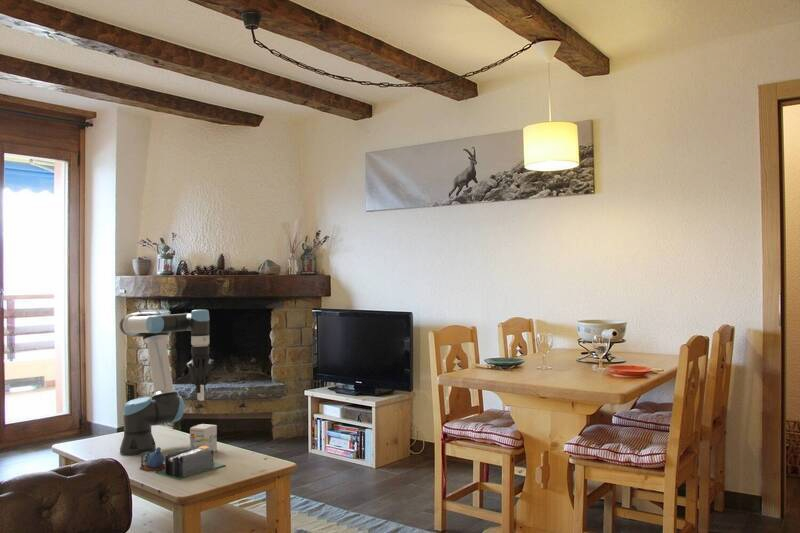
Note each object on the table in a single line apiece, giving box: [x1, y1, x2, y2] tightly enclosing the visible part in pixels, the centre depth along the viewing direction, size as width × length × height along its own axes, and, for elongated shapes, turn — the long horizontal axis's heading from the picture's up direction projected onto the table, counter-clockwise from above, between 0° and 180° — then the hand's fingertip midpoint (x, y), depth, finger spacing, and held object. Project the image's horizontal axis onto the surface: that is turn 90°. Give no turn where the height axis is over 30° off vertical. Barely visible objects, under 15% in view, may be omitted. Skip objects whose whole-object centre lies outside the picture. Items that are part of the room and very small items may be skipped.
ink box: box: [189, 423, 218, 453], centre depth 295 cm, size 9×8×12 cm
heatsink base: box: [155, 447, 227, 480], centre depth 267 cm, size 16×22×8 cm
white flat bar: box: [167, 446, 210, 462], centre depth 265 cm, size 17×4×2 cm, turn 142°
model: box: [139, 446, 165, 473], centre depth 271 cm, size 12×9×9 cm
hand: (200, 400), depth 283 cm, fingers closed
